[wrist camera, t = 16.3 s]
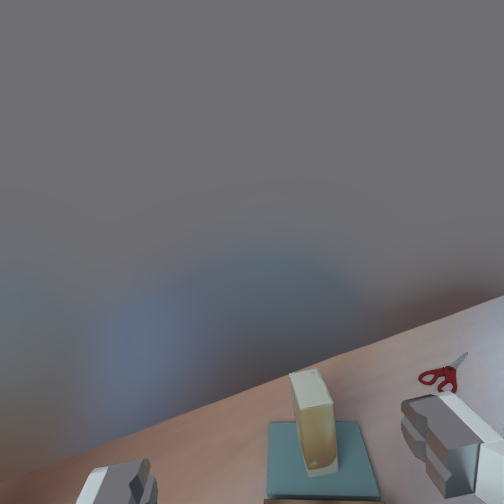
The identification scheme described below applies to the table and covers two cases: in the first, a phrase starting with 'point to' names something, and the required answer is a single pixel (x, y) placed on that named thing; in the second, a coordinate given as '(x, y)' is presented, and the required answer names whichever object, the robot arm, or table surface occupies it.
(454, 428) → the robot arm
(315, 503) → the pocket holder
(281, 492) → the teal mat
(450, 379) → the scissors
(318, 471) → the skincare box
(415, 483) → the table surface
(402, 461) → the table surface
